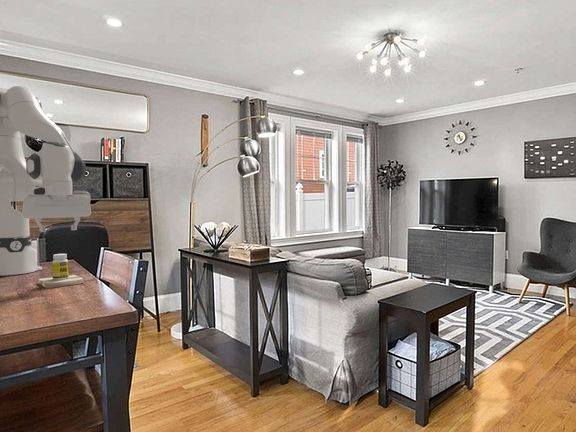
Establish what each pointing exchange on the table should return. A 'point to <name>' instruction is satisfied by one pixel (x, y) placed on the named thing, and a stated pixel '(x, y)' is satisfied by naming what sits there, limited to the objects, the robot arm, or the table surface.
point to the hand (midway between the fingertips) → (58, 230)
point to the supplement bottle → (59, 267)
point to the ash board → (60, 281)
